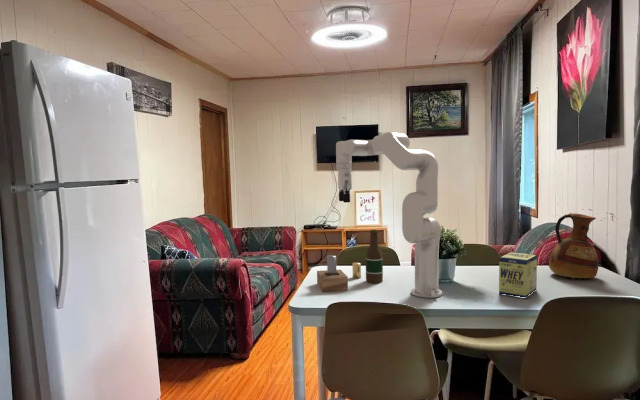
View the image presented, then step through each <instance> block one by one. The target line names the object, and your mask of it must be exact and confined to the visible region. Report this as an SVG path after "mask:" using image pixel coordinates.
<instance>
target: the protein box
mask: <svg viewBox="0 0 640 400" xmlns="http://www.w3.org/2000/svg"><path fill="white" fill-rule="evenodd" d="M498 261H499V262H498V263H499V264H498V265H499V267H498V269H499V270H498V272H499V273H498V274H499V275H498V295H499V294H506V295H513V296H520V297H527V296H528V295H529V294H531V293H532V292H533V291H535V290H536V291H537V287H538V286H537V284H538V283H537V276H538V274H537V273H538V254H535V253H534V254H533V253H527V252H526V253H523V252H516V251H511V252H508V253H506V254H505V255H502V256H499V260H498Z"/></svg>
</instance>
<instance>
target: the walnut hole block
mask: <svg viewBox="0 0 640 400" xmlns="http://www.w3.org/2000/svg"><path fill="white" fill-rule="evenodd" d="M348 281H349V277H348V275H347V274H346V273H345V272H344V271H343V270H341V269H336V275H332V276H327V269H326V270H317V271H316V283H317V285H318V287H319V289H320V291H321V292H322V293H334V292H346V291H347V292H348V291H349V282H348Z"/></svg>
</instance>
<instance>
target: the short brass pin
mask: <svg viewBox="0 0 640 400" xmlns="http://www.w3.org/2000/svg"><path fill="white" fill-rule="evenodd" d="M351 270H352V279H355V280H359V279H361V278H362V263H361V262H352V269H351Z"/></svg>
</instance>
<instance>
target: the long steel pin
mask: <svg viewBox="0 0 640 400" xmlns="http://www.w3.org/2000/svg"><path fill="white" fill-rule="evenodd" d="M326 261H327V262H326V263H327V264H326V265H327V266H326V268H327V269H326V270H327V276H332V275H336V270H337V255H335V254H328V255H327V256H326Z"/></svg>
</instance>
